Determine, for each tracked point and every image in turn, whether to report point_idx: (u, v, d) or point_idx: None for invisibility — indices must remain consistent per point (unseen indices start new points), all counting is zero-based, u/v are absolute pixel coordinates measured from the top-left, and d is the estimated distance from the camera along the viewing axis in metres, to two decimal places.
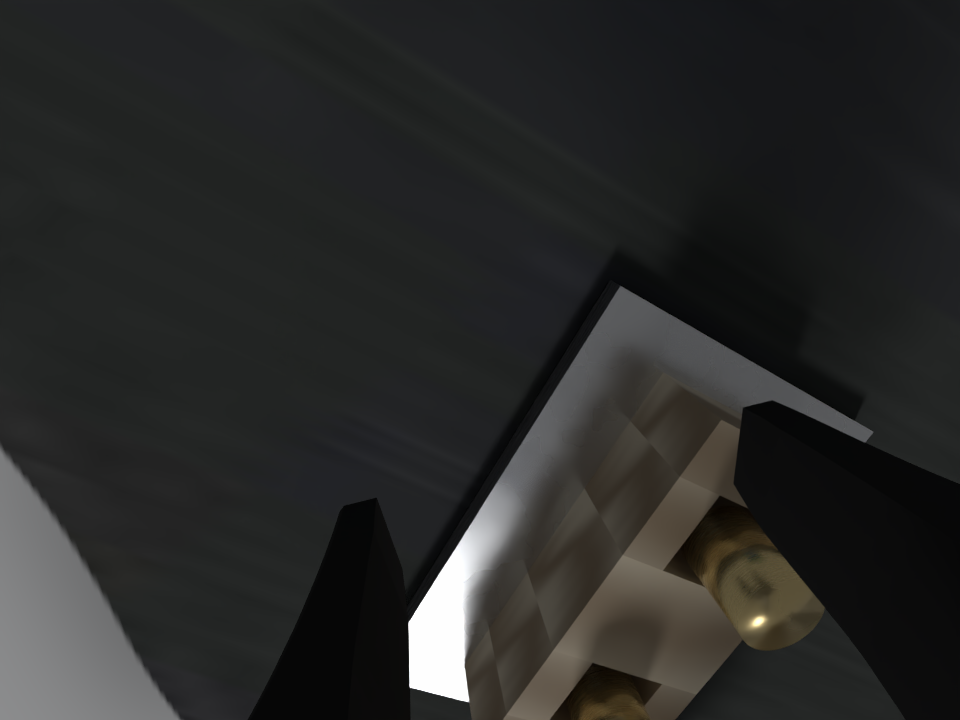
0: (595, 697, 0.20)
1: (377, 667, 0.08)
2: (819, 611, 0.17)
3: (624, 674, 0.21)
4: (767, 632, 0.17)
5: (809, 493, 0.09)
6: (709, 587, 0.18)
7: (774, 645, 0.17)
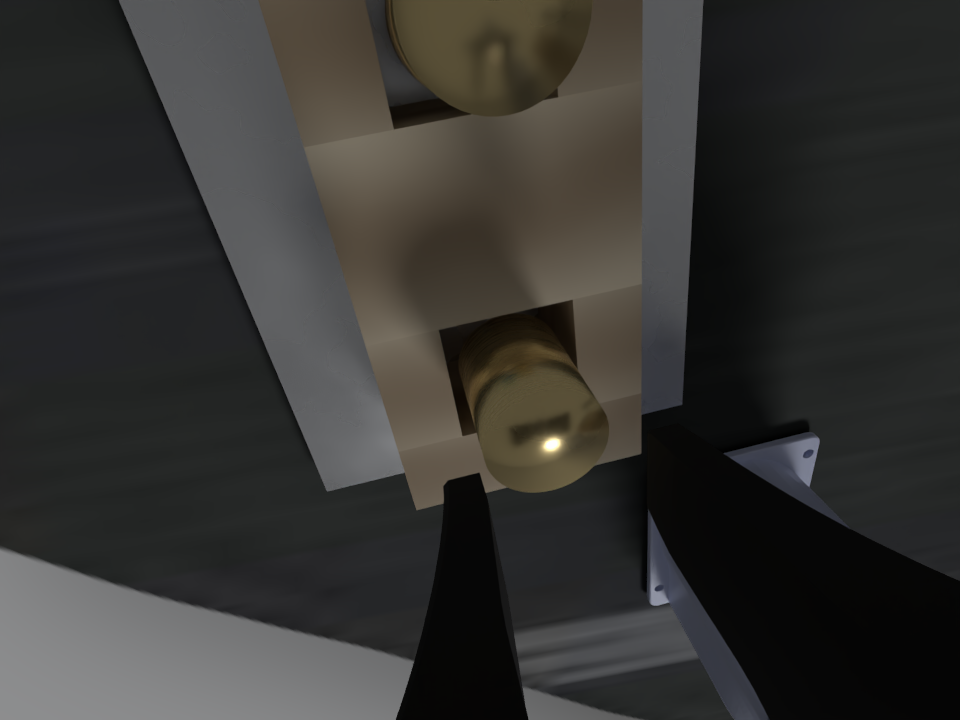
0: (470, 369, 0.13)
1: (508, 631, 0.08)
2: None
3: (512, 319, 0.14)
4: (501, 66, 0.08)
5: (701, 521, 0.09)
6: (424, 85, 0.09)
7: (544, 83, 0.08)
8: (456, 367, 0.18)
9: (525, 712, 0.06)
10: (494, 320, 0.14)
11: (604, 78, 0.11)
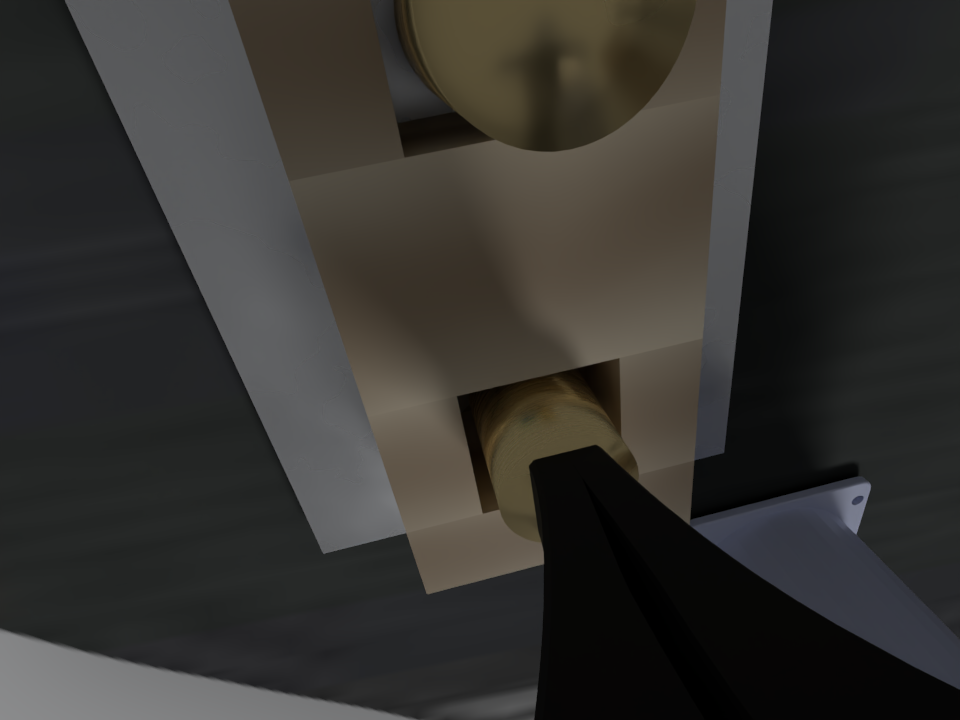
0: (482, 403, 0.12)
1: None
2: None
3: None
4: (562, 82, 0.06)
5: None
6: (447, 104, 0.07)
7: (621, 105, 0.06)
8: (472, 419, 0.16)
9: (671, 671, 0.06)
10: None
11: (672, 91, 0.09)
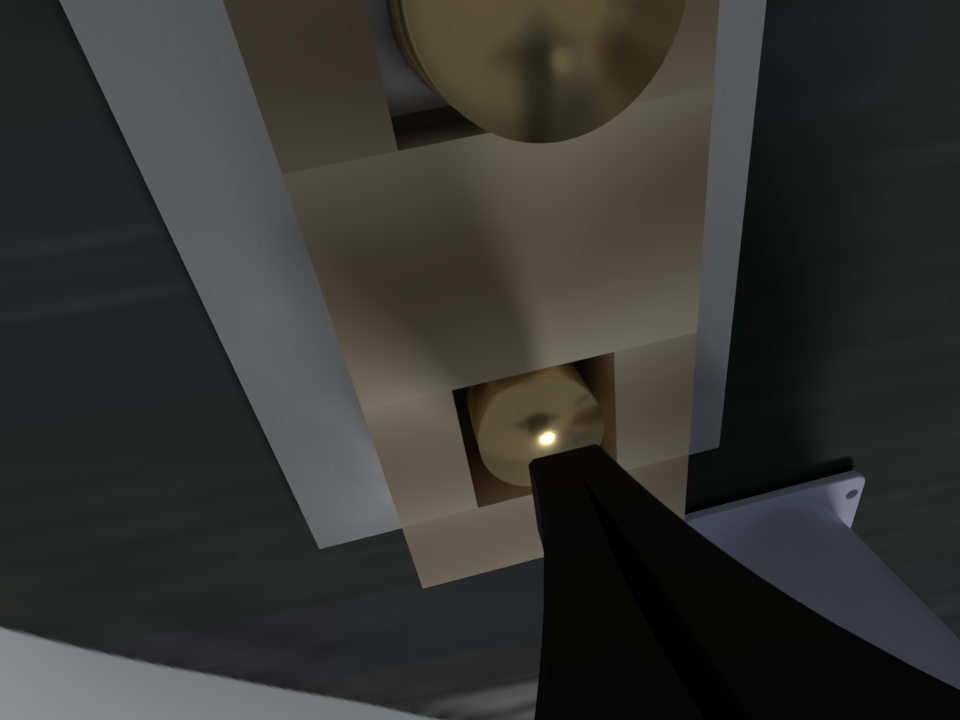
0: None
1: None
2: None
3: None
4: (555, 73, 0.06)
5: None
6: None
7: (613, 97, 0.06)
8: (467, 414, 0.16)
9: (670, 671, 0.06)
10: None
11: (666, 85, 0.09)
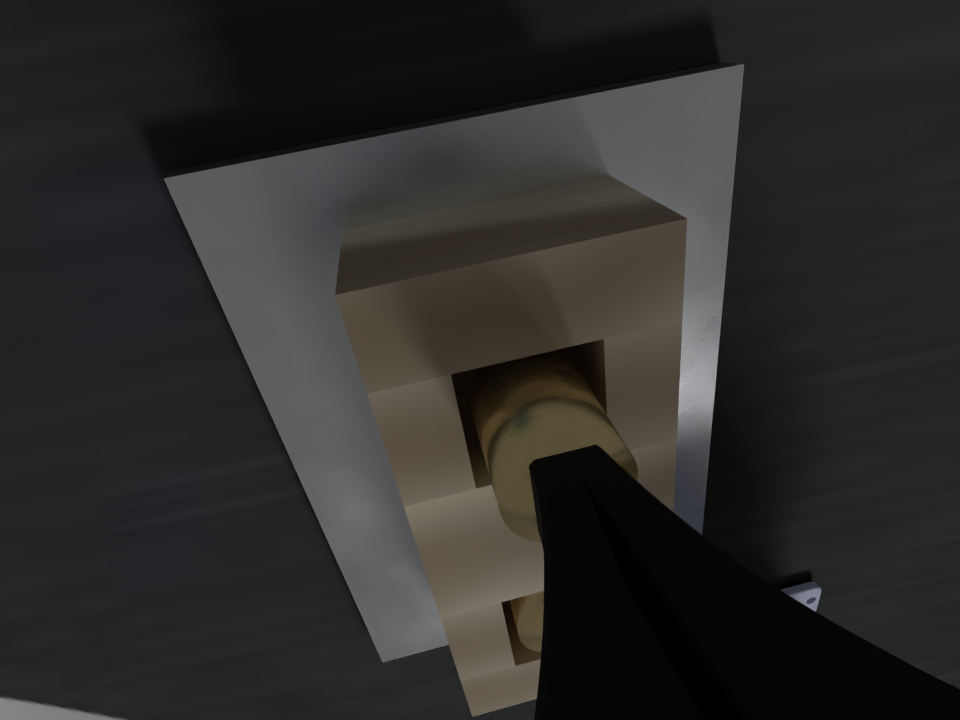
0: None
1: None
2: (623, 456, 0.10)
3: None
4: None
5: None
6: None
7: None
8: None
9: (671, 671, 0.06)
10: None
11: (646, 440, 0.14)
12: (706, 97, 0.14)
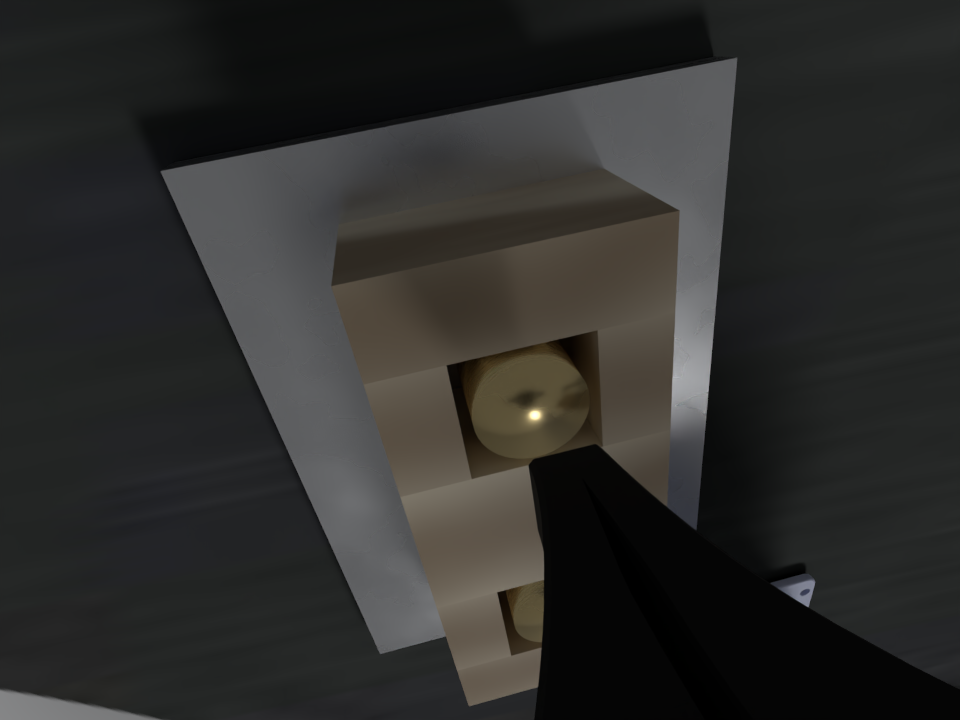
0: None
1: None
2: (576, 380, 0.12)
3: None
4: (534, 436, 0.13)
5: None
6: None
7: (560, 440, 0.13)
8: None
9: (671, 671, 0.06)
10: None
11: (640, 431, 0.14)
12: (700, 91, 0.14)
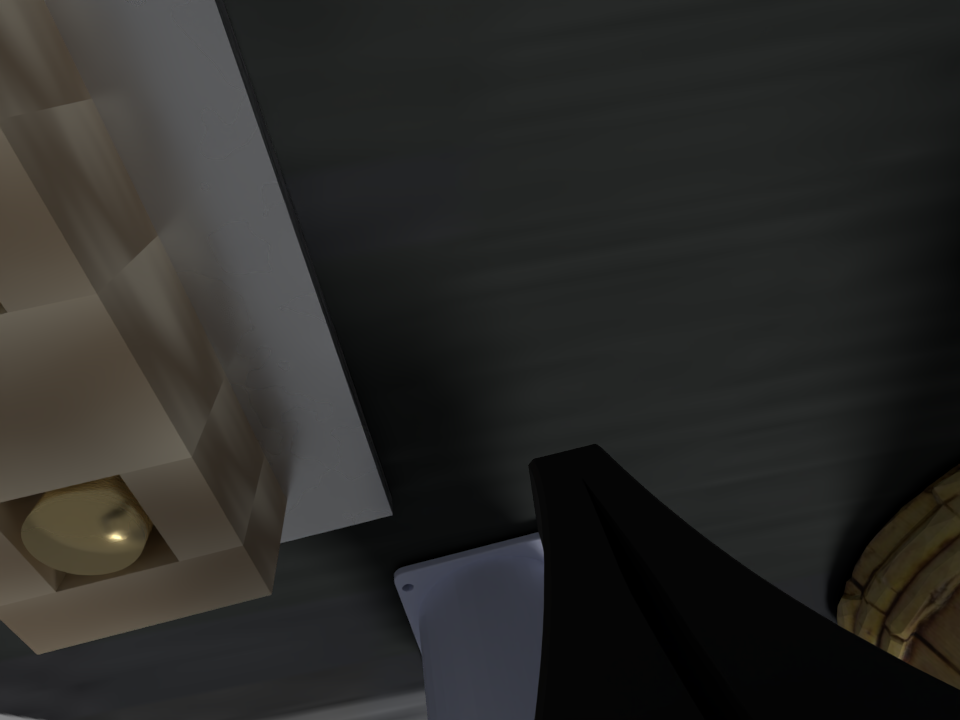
0: None
1: None
2: None
3: None
4: None
5: None
6: None
7: None
8: None
9: (671, 671, 0.06)
10: None
11: (52, 294, 0.11)
12: None
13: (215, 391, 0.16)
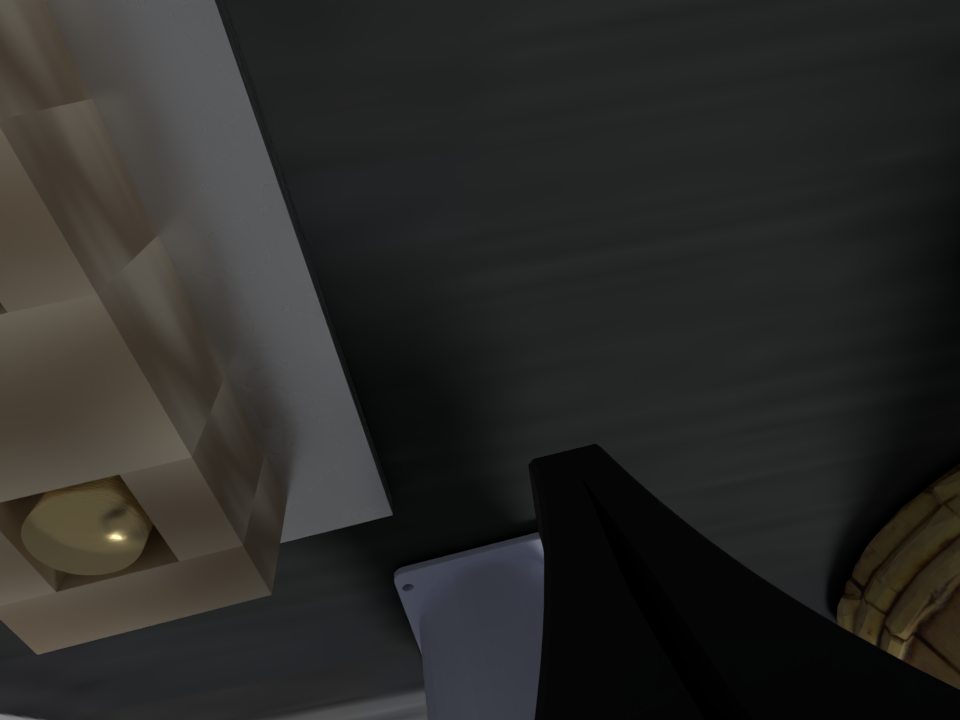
0: None
1: None
2: None
3: None
4: None
5: None
6: None
7: None
8: None
9: (671, 671, 0.06)
10: None
11: (52, 294, 0.11)
12: None
13: (215, 391, 0.16)
